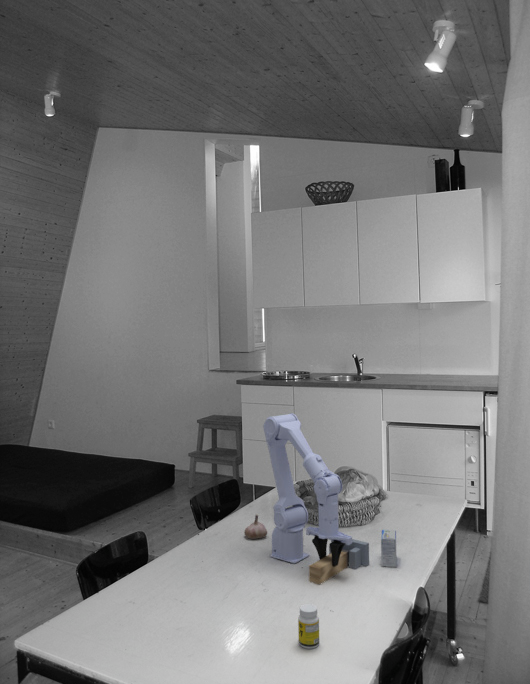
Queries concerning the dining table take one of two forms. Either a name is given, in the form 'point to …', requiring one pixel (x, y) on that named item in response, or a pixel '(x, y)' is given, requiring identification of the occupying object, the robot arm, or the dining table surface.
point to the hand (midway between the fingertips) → (329, 563)
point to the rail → (327, 568)
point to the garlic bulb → (255, 530)
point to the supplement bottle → (308, 626)
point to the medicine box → (388, 548)
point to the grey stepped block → (356, 553)
